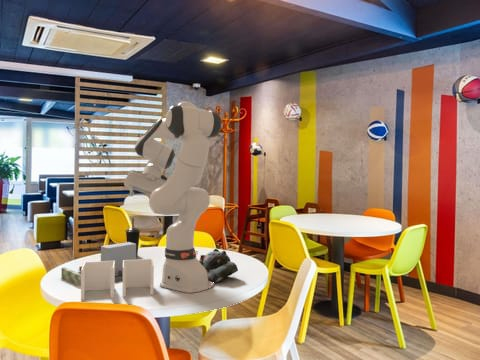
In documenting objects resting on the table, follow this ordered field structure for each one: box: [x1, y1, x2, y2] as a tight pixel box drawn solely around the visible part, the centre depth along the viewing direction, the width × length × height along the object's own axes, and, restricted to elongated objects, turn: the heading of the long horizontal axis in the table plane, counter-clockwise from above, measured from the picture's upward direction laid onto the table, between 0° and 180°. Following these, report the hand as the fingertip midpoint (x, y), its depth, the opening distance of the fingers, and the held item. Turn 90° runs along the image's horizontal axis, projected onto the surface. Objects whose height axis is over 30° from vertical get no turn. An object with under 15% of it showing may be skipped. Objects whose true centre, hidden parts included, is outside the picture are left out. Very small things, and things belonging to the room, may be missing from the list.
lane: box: [61, 266, 123, 286], centre depth 168 cm, size 16×27×4 cm, turn 138°
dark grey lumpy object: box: [198, 248, 239, 284], centre depth 165 cm, size 15×12×14 cm
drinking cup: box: [124, 217, 141, 257], centre depth 205 cm, size 8×8×20 cm
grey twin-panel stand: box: [80, 258, 155, 301], centre depth 146 cm, size 25×11×11 cm, turn 106°
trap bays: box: [78, 265, 123, 283], centre depth 170 cm, size 28×9×2 cm, turn 48°
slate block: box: [100, 241, 137, 275], centre depth 175 cm, size 6×14×12 cm, turn 137°
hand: (141, 198), depth 175 cm, fingers open, 8 cm apart
